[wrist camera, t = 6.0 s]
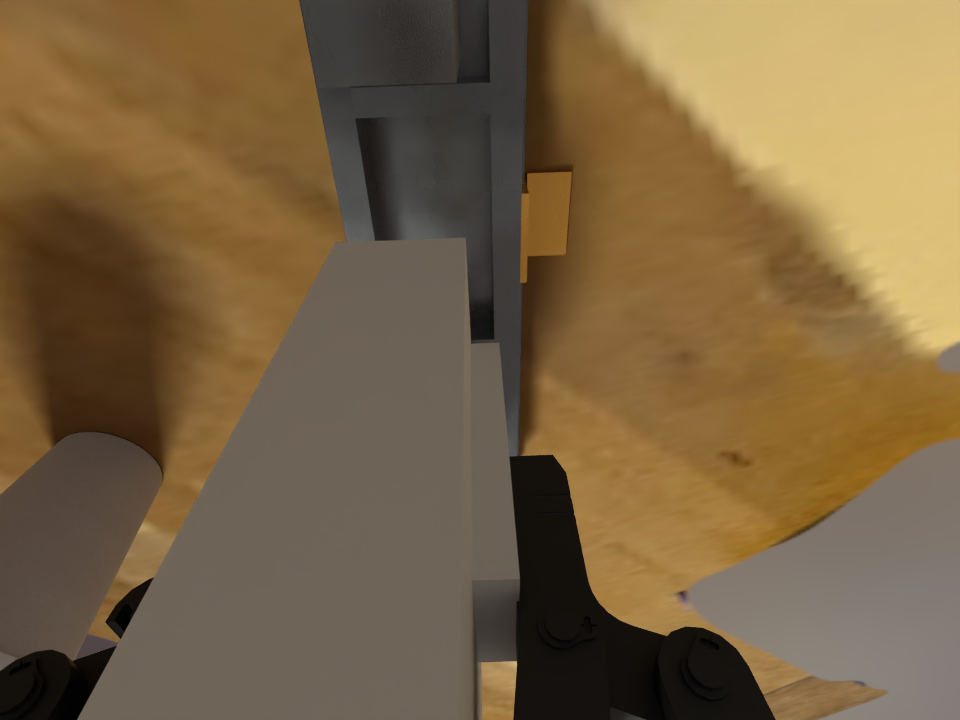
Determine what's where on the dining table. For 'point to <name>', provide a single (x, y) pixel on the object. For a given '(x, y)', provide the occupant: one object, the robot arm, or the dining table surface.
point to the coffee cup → (68, 539)
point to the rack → (440, 145)
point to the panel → (329, 520)
